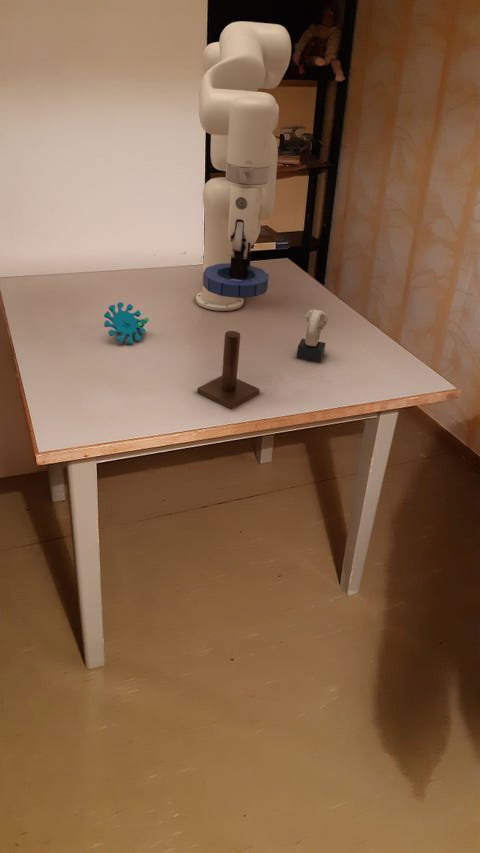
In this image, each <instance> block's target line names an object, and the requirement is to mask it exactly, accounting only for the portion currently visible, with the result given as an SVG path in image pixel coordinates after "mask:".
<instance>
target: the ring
mask: <svg viewBox="0 0 480 853" xmlns="http://www.w3.org/2000/svg"><path fill="white" fill-rule="evenodd" d="M230 265H231V263H225V264H216V265H213V266H209V267H207V268H206V269H205V271H204V272H203V271H202V281H203V286H204V287H205V288H206V289H207V290H208V291H209V292H212V293H215V294H217V295H220V296H225V297H233V298H238V297H239V298H243V299H247V298H255V297H259V296H262V295H264V294H266V293H267V291H268V287H269V280H270V279H269V278H270V275H269V274H268V273H267V272H266V271H265V270H264V269H262V268H260V267H256V266H254V265H252V264H250V265H248V270H247V278H246V279H245V280H244V279H236V278H231V277H230ZM231 279H234V280H231ZM236 280H239V281H236Z"/></svg>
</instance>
